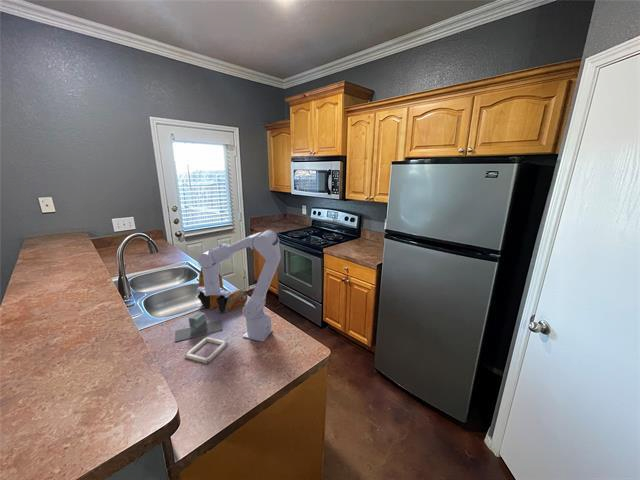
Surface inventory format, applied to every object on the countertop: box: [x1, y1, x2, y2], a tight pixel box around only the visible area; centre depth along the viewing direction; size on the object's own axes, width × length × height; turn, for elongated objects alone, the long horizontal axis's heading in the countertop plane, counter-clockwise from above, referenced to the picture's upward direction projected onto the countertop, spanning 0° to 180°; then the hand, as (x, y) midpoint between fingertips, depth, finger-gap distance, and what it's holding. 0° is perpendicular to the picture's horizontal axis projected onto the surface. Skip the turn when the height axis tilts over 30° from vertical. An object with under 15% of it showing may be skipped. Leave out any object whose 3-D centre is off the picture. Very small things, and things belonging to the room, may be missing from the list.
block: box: [188, 311, 208, 335], centre depth 109 cm, size 4×5×7 cm
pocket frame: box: [184, 336, 228, 364], centre depth 98 cm, size 10×11×1 cm
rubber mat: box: [174, 319, 224, 343], centre depth 110 cm, size 18×8×1 cm, turn 116°
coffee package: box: [198, 266, 224, 310], centre depth 130 cm, size 10×12×22 cm
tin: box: [216, 289, 248, 314], centre depth 126 cm, size 15×3×8 cm, turn 134°
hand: (215, 310), depth 108 cm, fingers open, 7 cm apart
